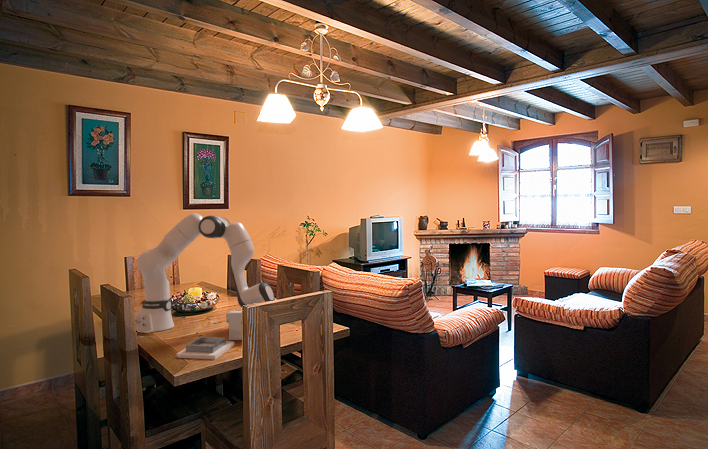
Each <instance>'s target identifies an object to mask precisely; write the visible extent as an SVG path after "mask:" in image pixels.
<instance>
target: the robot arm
mask: <svg viewBox="0 0 708 449" xmlns="http://www.w3.org/2000/svg"><path fill="white" fill-rule="evenodd" d="M201 235H202V236H203V237H205V238H207V239H224V240H225V241H226V242H225V243H227V244H226V245H228V248H229V251H230V258H231V259H230V264H229V265H230V266H229V267H230V271H231V275H232V279H233V283H234V287H235V292H236V299H237V300H236V301H237V303H238V305H239V306H240V307H241V308H242V306H243V305H247V304H253V303H261V302H266V301H273V300H278V298H276V297H275V292H274V289H273V287H272V286H271V285H270V284H269V283H267V282H265V281H262V282H260V283H257V284H254V285H253V286H251V287H249V286H248V283H247V280H246V279H247V278H246V276H245V275H246V274H245V269H246V266H247V265H248V263H249V262H250V261H251V260H252V259H253V256H254V254H255V246H254V244H253V243H254V242H253V241H252V239H251V236H250V234H249V232H248V230H247V229H246V227H245V226H244V224H242V223H241V222H238V221H234V222H233V221H232V222H230V221H229V220H228V219H227V218H225V217H222V216H220V215H207V216H203V215H202V214H199V213H197V212H192V213H190V214H188V215H186V216H185V217H184V218H183V219H181V220H180V221H179V222H178V223H177V224H175V225H174V227H172V228H171V229H170V230H169V231H168V232H167V233H166V234H165V235H164V236H163V238H162V240H161V241H160V242H159V243H158V244H157V245H156V247H153V248H151V249H147V250H145V251H143V252H142V253H141V254H139V256H138V257H137V259H136V266H137V268H138V270H139V271H140V272H141V276H142V280H143V285H144V300H143V301H141V302H139V304H140V305H141V308H140V309H138V310H137V311H135V313H134V314H135V322H136V330H137V332H136V333H142V334H143V333H144V334H149V333H154V332H161V331H166V330H169V329H172V328H174V327H175V324H174V320H173V317H172V311H171V310H172V299H171V298H172V297H171V294H170V293H171V292H170V291H171V290H170V289H171V288H170V281H169V280H168V278H167V274H166V269H168V268H169V267H170V266H171V265H173V263H174V262H175V261H176V260H177V258H178V257H179V256H180V255H181V253H182V252H183V251H185V249H187V248H188V246H190V244H191V243H193V241H195V240H196V239H197V238H198V237H199V236H201ZM235 311H242V310H240V309H237V310H236V309H235ZM229 312H230V311H229ZM229 312H227V313H225V318H226V319H225V320H226V323H228V324H229V316H228V313H229ZM241 324H242V322H241Z"/></svg>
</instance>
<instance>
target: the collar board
mask: <svg viewBox="0 0 708 449" xmlns="http://www.w3.org/2000/svg"><path fill="white" fill-rule="evenodd" d="M226 341H227V340H226ZM200 345H206V346H212V345H214V344H206V343H202V344H200ZM234 346H235V341H229V340H228V341H227V344H225V345H224V346H222V347H221V348H219V349H218V350H217V351H215V352H214V353H203V352H186V348H184V349H183V350H181V351H179V352H177V353H176V358H179V359H183V358H184V359H199V360H216V359H218V358H220V356H222V355H224V353H226V352H227V351H229V350H230V349H231V348H233V347H234Z"/></svg>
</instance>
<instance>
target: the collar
mask: <svg viewBox="0 0 708 449" xmlns="http://www.w3.org/2000/svg"><path fill="white" fill-rule="evenodd" d="M202 343H206V344H214V345H212V346H206V345H200V344H202ZM225 344H227V337H220V336H219V337H218V336H217V337H215V336H199V337H197V338H196V339H194V340H193V341H191V342H189V343H187V344H185V349H186V352H203V353H214V352H215V351H217V350H218V349H219V348H221V347H222V346H224V345H225Z"/></svg>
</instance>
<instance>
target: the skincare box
mask: <svg viewBox="0 0 708 449" xmlns="http://www.w3.org/2000/svg"><path fill="white" fill-rule="evenodd" d="M242 311H243V310H241V311H236V310H230V311H229V313H228V312H227V313H228V316H229V323H228V341H238V340H239V341H241V340H242V324H241V322H242ZM242 341H243V340H242Z"/></svg>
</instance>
